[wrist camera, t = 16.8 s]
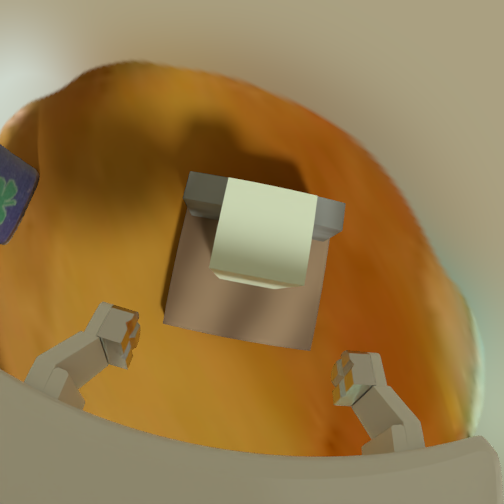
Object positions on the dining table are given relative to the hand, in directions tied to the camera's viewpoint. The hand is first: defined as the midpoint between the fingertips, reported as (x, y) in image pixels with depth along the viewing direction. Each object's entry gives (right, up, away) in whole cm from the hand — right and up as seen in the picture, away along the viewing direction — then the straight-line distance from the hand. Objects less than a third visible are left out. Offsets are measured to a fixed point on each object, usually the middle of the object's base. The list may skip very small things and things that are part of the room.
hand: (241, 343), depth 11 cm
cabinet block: (0, +3, +13) cm, 13 cm away
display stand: (0, +2, +14) cm, 14 cm away
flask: (-25, +8, +14) cm, 30 cm away
